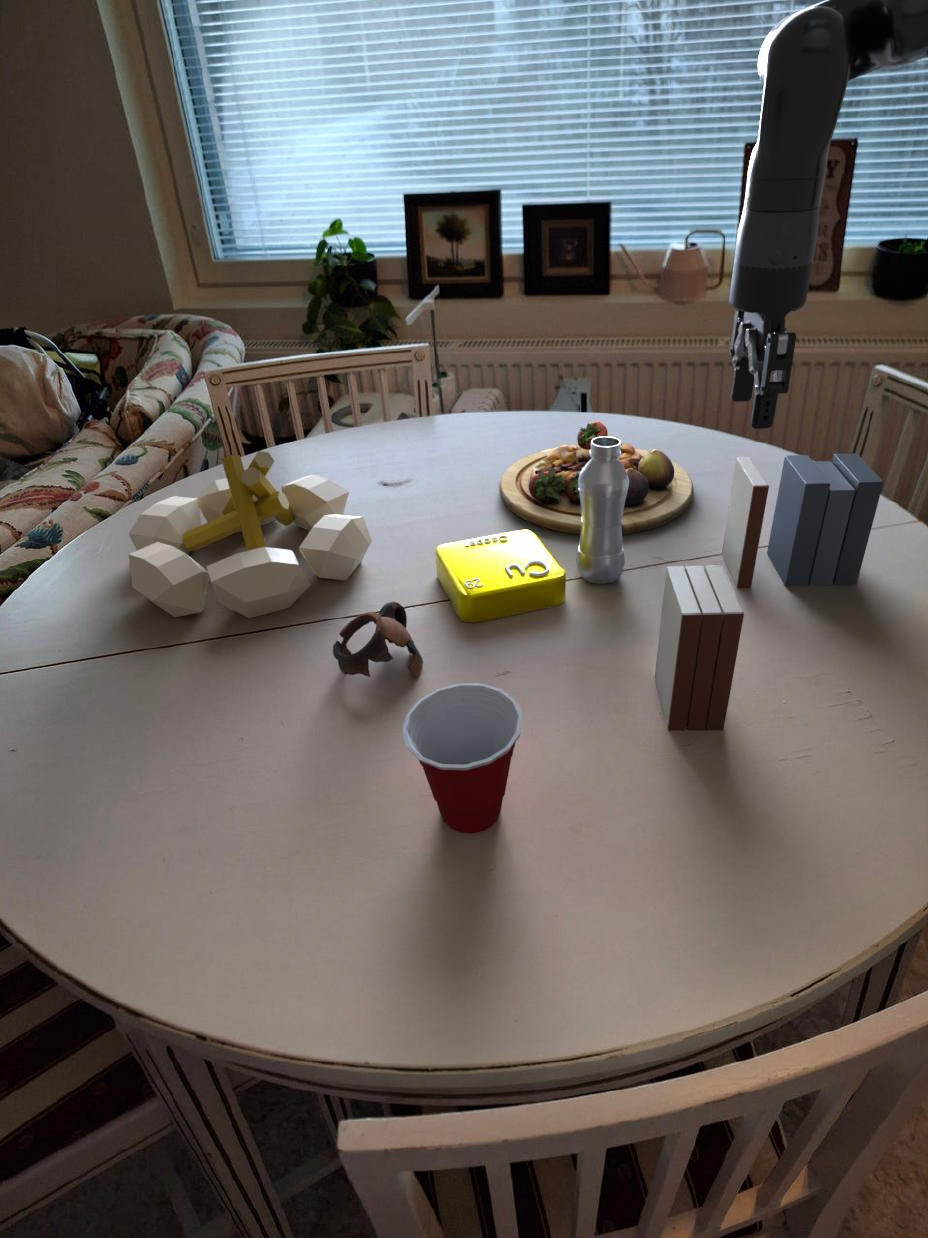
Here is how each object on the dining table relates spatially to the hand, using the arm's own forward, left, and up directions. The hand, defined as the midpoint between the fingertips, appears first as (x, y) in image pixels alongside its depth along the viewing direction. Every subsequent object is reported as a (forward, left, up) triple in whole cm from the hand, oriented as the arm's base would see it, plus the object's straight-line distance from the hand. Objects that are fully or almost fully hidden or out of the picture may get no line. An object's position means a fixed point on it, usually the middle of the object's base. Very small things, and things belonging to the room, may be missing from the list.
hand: (750, 413), depth 90 cm
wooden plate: (+13, -36, -27) cm, 46 cm away
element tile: (+29, -7, -27) cm, 40 cm away
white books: (+8, +18, -26) cm, 33 cm away
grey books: (-14, -10, -26) cm, 32 cm away
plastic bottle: (+15, -9, -27) cm, 32 cm away
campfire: (+66, -16, -27) cm, 73 cm away
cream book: (-4, -10, -26) cm, 28 cm away
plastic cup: (+32, +34, -27) cm, 54 cm away
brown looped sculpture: (+43, +10, -27) cm, 51 cm away
